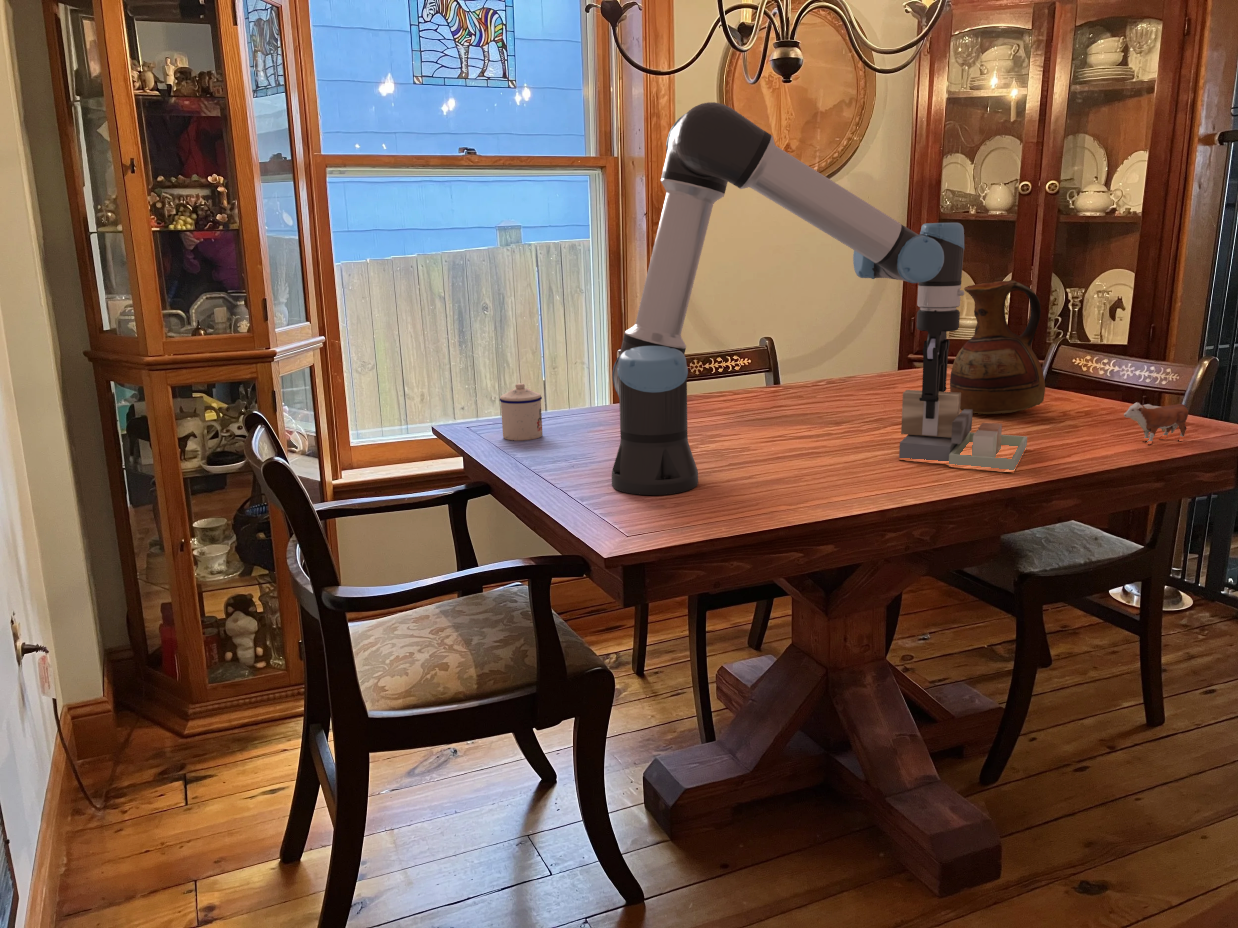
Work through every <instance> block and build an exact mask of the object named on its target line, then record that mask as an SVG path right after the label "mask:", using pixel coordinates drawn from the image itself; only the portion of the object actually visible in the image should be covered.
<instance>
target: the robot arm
mask: <svg viewBox="0 0 1238 928" xmlns="http://www.w3.org/2000/svg"><path fill="white" fill-rule="evenodd" d="M665 146H666V147H665V148H666V149H665V151H666V156H665V160H664V165H663V168H662V171H661V173H662V174H661V178H660V182H661V184H662V186H663V188H664V190H665V197H664V202H663V205H662V206H663V207H662V210H661V215H660V218H659V219H660V220H659V223H658V227H657V230H656V235H655V240H654V243H653V247H652V250H651V251H652V252H651V255H650V256H651V257H650V260H649V265H648V270H647V273H646V277H645V282H644V285H643V290H642V294H641V299H640V302H639V306H638V312H637V316H636V319H635V323H634V325H633V326H631V327H630V328H628V329H626V330H625V331H624V335H623V339H622V343H621V347H620V351H619V355H618V357H617V358H616V361H615V362H614V365H613V368H612V383H613V387H614V389H615V393H617V396H618V400H619V426H620V427H619V429H620V432H619V433H620V434H619V435H620V443H619V446H618V450H617V453H616V456H615V460H614V464H613V467H612V470H611V486H612V488H613V489H615V490H616V491H619V492H623V493H626V494H631V495H632V494H633V495H639V496H640V495H641V496H663V495H673V494H679V493H683V492H687V491H690V490H692V489H694V488H696V487H697V486H698V485H699V471H698V468H697V467H698V466H697V464H696V460H695V458H694V456H693V455H694V454H693V453H692V450H691V447H690V444H689V440H688V439H689V437H688V375H689V369H688V368H689V367H688V364H687V357H686V356H685V354H686V353H685V352H686V349H687V345H686V343H685V341H684V339H683V338H682V332H683V328H684V323H685V318H686V315H687V311H688V307H689V303H690V299H691V295H692V291H693V288H694V282H695V278H696V275H697V272H698V271H697V270H698V267H699V264H700V263H699V262H700V259H701V256H702V251H703V247H704V242H705V240H706V235H707V230H708V228H709V223H710V218H711V215H712V211H713V206H714V204H715V203H716V202H717V201H719V200H721V199H722V198H724V197H725V194H726V190H727V187H728V183H730V184H732V185H733V186H735V187H736V188H738V189H740V190H743V189H748V188H750V189H752V190H754V191H755V192H757V193H759V194H760V195H762V196H764V197H765V198H767V199H769V201H772V202H773V203H775V204H777V205H778V206H780V207H782V208H784V209H785V210H787V211H789V212H790V213H792V214H794V215H795V216H796V217H798V218H801V219H802V220H804V221H805V222H807V223H808V224H810V225H812V226H813V227H815V228H817V229H818V230H820V231H822V232H823V233H825V234H826V235H828V236H831V237H832V238H833V239H835V240H837V241H838V242H839V243H842V244H843V245H845V246H847V247H848V248H850V249H852V250H853V256H852V259H853V260H852V262H853V269H854V272H855V274H856V276H857V277H858V278H860V279H871V280H875V279H889V280H896V281H903V282H908V283H911V284H918V285H917V287H918V288H917V303H916V304H917V305H916V306H918V307H919V309H918V311H917V312H916V329H917V330H918V331H921V332H922V331H923V332H927V339H926V340H924V342H923V349H922V358H923V359H922V360H923V362H922V381H921V382H922V385H921V387H922V388H921V391H922V396H921V397H922V398H919V400H920V401H924V407H923V426H922V435H932V436H937V435H938V419H939V401H938V400H939V397H938V394H939V392H947V377H948V375H947V374H948V362H949V360H948V359H949V349H950V348H949V347H950V343H951V341H950V339H947V334H948V332H955V331H957V330H959V329H960V318H961V317H960V315H961V311H959V309H957V308H959V307H960V306H961V297H962V296H964V295H965V290H964V289H963V290H961V288H962V276H963V275H962V274H963V265H964V264H963V263H964V262H963V261H964V251H965V249H966V248H965V234H964V233H965V229H964V225H962V224H961V223H960V222H933V223H932V222H929V223H927V222H926V223H923V224H922V225H921V227H920V228H921V229H920V232H919V234H918V233H916V232H915V231H913V230H912V229H910V228H909V227H907V226H905V225H904V224H901V223H900V222H899V221H897V220H896V219H895V218H892V217H890V215H887V214H886V213H884V212H883V211H881V210H879V209H878V208H876V207H875V206H874V205H872V204H870V203H869V202H867V201H866V200H863V199H862V198H860V197H858V196H857V195H855V194H854V193H853V192H851V191H849V190H848V189H846V188H845V187H843V186H841V185H840V184H838V183H837V182H835V181H833V180H831V179H830V178H829V177H827V176H825V175H823V174H822V173H820V172H819V171H817V170H815V169H814V168H813V167H811V166H809V165H808V164H806V163H804V162H802V161H801V160H800V159H798V158H796V157H795V156H793V155H792V154H790V153H788V152H787V151H785V150H783V149H782V148H780V147H778V146H776V143H775V140H774V136H773V135H772V134H770V133H769V132H767V131H766V130H764V129H762V128H761V127H760V126H758V125H757V124H755V123H754V122H753V121H751V120H750V119H748V118H747V117H746V116H743V115H742V114H741V113H740V112H738V111H736V110H735V109H734V108H732V107H730V106H728V105H726V104H723V103H719V102H712V101H711V102H709V101H708V102H704V103H699V104H698V105H696V106H694V107H692V108H690V109H689V110H688V111H687V112H686V113H685V114H683V115H681V116H679V118H678V119H677V120H676V121H675V122H674V124H673V125H672V127H671V128H670V130H669V132H668V136H667V139H666V145H665Z"/></svg>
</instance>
